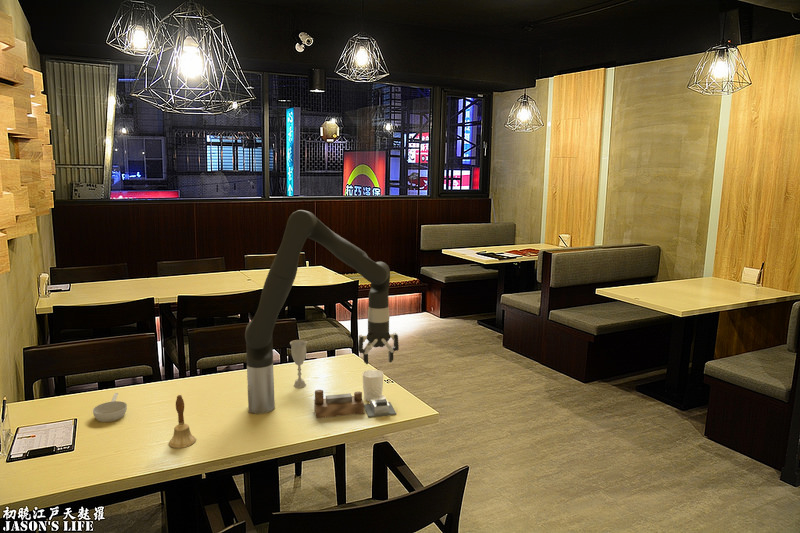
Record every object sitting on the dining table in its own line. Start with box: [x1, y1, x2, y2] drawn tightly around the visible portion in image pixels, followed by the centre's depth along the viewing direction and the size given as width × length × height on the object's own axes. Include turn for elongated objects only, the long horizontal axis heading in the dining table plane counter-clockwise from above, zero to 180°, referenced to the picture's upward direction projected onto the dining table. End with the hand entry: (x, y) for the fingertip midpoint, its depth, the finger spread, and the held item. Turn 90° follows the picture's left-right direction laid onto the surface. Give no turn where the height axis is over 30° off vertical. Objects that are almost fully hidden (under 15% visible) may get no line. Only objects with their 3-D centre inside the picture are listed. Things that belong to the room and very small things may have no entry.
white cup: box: [361, 369, 384, 402], centre depth 221 cm, size 8×8×10 cm
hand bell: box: [168, 394, 197, 449], centre depth 185 cm, size 8×8×16 cm
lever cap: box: [369, 394, 390, 415], centre depth 210 cm, size 9×6×4 cm, turn 14°
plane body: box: [313, 389, 365, 419], centre depth 209 cm, size 17×7×8 cm, turn 104°
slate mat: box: [364, 401, 397, 418], centre depth 211 cm, size 10×10×1 cm
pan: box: [92, 392, 128, 423], centre depth 208 cm, size 11×18×4 cm, turn 16°
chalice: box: [289, 339, 308, 389], centre depth 232 cm, size 7×7×18 cm
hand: (378, 362), depth 208 cm, fingers open, 8 cm apart
